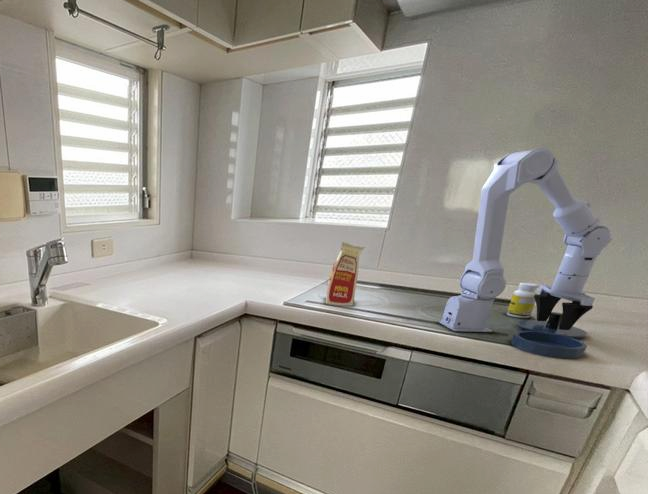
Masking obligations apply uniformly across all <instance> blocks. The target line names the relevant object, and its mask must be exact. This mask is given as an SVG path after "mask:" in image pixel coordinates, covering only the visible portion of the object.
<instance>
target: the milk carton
mask: <svg viewBox="0 0 648 494" xmlns="http://www.w3.org/2000/svg"><path fill="white" fill-rule="evenodd" d="M365 248H366V247H365V246H359V245H353V244H350V243H348V242H345V241H341V248H340V252H338V256H337V258H336V259H335V262H334V264H333V266H332V268H331V269H332V270H331V273H330V276H329V279H328V283H327V290H326V297H325V304H326V305H332V306H353V304H354V303H355V295H356V294H355V293H356V288H357V283H358V275H359V263H360V255H361V254H362V252H363V250H364V249H365Z"/></svg>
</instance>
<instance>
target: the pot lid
mask: <svg viewBox="0 0 648 494" xmlns="http://www.w3.org/2000/svg"><path fill="white" fill-rule="evenodd" d="M561 318H562V312H556V311H552V312H551V314H550V316H549V318H548V319H547V321H537V320H535V319H534V320H532V319H529V320H521V321H518V322H517V326H518V327H519V328H521V329H523V330H524V331H538V332H547V333H553V334H558V335H563V336H567V337H570V338H574V339H580V338H586V337H587V335H588V332H587V331H586V330H584V329H582V328H579V327H576V326H574V325H573V326H572V327H571V329H570V330H560V329H559V324H560V321H561Z"/></svg>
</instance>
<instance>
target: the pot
mask: <svg viewBox="0 0 648 494" xmlns="http://www.w3.org/2000/svg"><path fill="white" fill-rule="evenodd" d="M511 345H512V346H513V347H515V348H517V349H520V350H522V351H524V352H527V353H531V354H534V355H540V356H544V357H550V358H556V359H569V360H570V359H572V360H573V359H580V358H582V357H583V355H584V354H585V352H586V351H587V350H586V349H587V348H588V344H587V343H585V342H584V341H581V340H580V339H579V340H578V338H570V337H567V336H563V335H558V334H553V333H547V332H538V331H528V330H520V331H516V332H514V334H513V336H512V338H511Z"/></svg>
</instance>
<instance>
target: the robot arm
mask: <svg viewBox="0 0 648 494" xmlns="http://www.w3.org/2000/svg"><path fill="white" fill-rule="evenodd" d="M527 183H528V184H533V185H537V187H538V188H539V189H540V191H541V192H542V193H543V194H544V195H545V197H546V198H547V200H549V201H550V203H551V204H552V205H553V207H554V208H555V209H554V211H553V212H552V217H553V219H554V220H555V221H556V223H557V224H558V226H559V227H560V228H561V230H562V231H563V233H564V235H563V244H565V245H566V246H567V247H566V249H565V252H564V255H563V258H562V260H561V263H560V265H559V268H558V270H557V273H556V275H555V277H554V281H553V283H552V285H549V284H548V285H547V284H544V285H543V284H539V287H538V289H537V294H535V295H534V298H535V304H536V321H546V322H547V321H548V319H549V316H550V314H551V312H553V310H554V309H555V307H556V305H557V304H558V303H559V301H561V300H562V299H563V300H566V301H568V302H564V301H563V302H562V303H561V306H562V307H561V308H562V312H561V313H562V318H561V321H560V324H559V329H560V330H570V329H571V327H572V326H573V327H574V325H575V324H576V323H577V322H578V320H580V319H581V317H583V316H584V315H585V314H586V313H588V312H590V311H591V310H592V309H593V308H594V305H593V304H594V302H595V300H596V298H595V297H593V296H590V295H588V294H586V291H584V288H585V286H586V283H587V282H588V278H589V276H590V274H591V272H592V269H593V266H594V265H595V262H596V259H597V257H598V256H600V255H601V252H602V250H603V249H605V248H606V247H607V246H608V245H609V244H610V243H611V242H612V240H613V237H611V235H612V234H611V231H610V229H609V228H608V227H607V226H605V225H600V222H601V220H600V219H599V217H596V216H595V214H594V213H593V212H592V210H591V209H590V207H591V206H592V205H591V203H590V201H585V200H584V199H578V198H576V199H575V197H574V195H573V193H572V192H571V190H570V187H569V186H568V184H567V182H566V180H565V179H564V177H563V175H562V173H561V171H560V169H559V160H558V158H556V157H554V154H553V152H552V151H551V149H549V148H546V147H537V148H534V149H529V150H519V151H518V150H517V151H511V152H508V153H507V154H506V155H504V156H502V158H500V159H499V160H498V161H496V162H495V163H494V164H493V171H492V172H491V174H490V175H489V177H488V178H487V180H486V182H485V183H484V185H483V186H482V188H481V190H480V191H481V192H480V199H479V207H478V214H477V222H476V228H475V229H476V230H475V237H474V245H473V250H472V251H473V252H472V260H471V261H470V262H468V263H467V264H465V266H464V271H463V273H462V275H461V276H460V278H459V281H458V282H459V283H458V284H459V286H460V288H461V291H460V292H461V293H460V295H454V296H451V297H449V298H448V300H447V302H446V304H445V306H444V311H443V314H442V317H441V320H440V321H439V322H438V323H439V324H440V325H442V326H444V327H446V328H448V329H450V330H452V331H454V332H468V333H469V332H471V333H492V332H493V330H492V329H490V328H488V327H486V325H487V322H488V320H489V316H490V313H491V310H492V307H493V304H494V301H495V300H496V298H497V297H498V296H500V295H501V294H502V293H503V292H504V291H505V288H506V286H507V281H506V279H505V277H504V272H505V269H504V266H503V264H502V263H501V261H500V258H501V257H500V256H501V253H502V245H503V237H504V231H505V225H506V219H507V212H508V206H509V199H510V195H511V194H512V193H514V192H515V191H516V190H518V189H519V188H521V186H523V185H525V184H527Z"/></svg>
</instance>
